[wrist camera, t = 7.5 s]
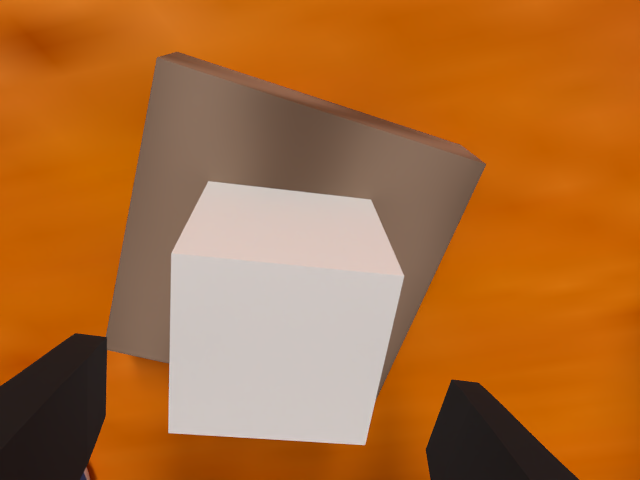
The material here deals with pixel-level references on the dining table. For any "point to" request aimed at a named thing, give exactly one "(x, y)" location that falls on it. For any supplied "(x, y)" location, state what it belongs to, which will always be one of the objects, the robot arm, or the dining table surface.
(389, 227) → the walnut block
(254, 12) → the dining table surface
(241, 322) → the off-white block
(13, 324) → the dining table surface
